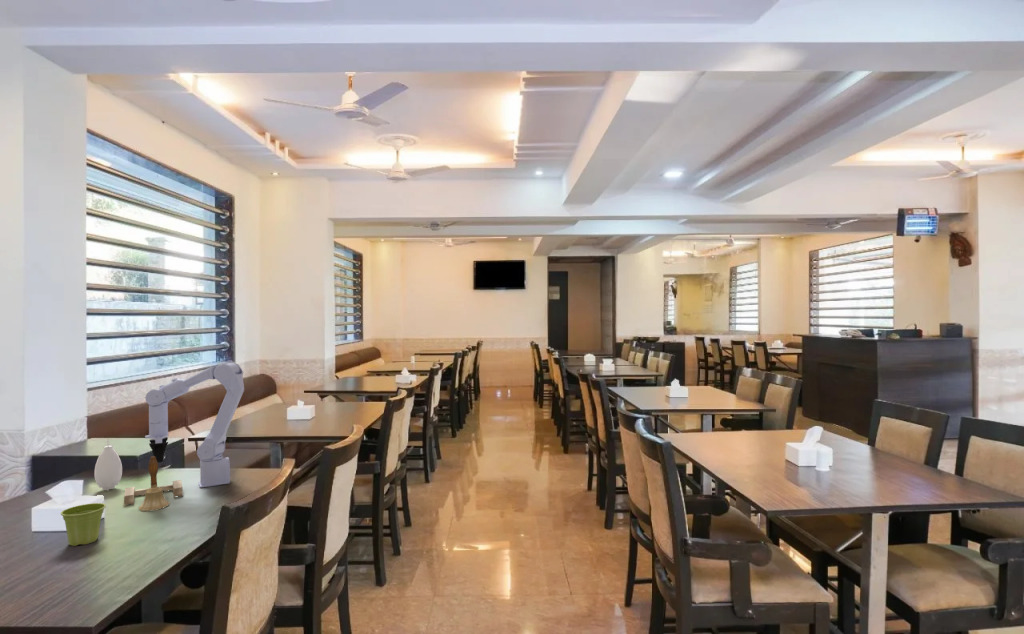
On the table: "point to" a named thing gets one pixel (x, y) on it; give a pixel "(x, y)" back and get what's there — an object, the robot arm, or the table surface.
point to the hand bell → (153, 490)
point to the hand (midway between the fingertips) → (158, 460)
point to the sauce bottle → (108, 468)
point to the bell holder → (131, 491)
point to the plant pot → (83, 523)
